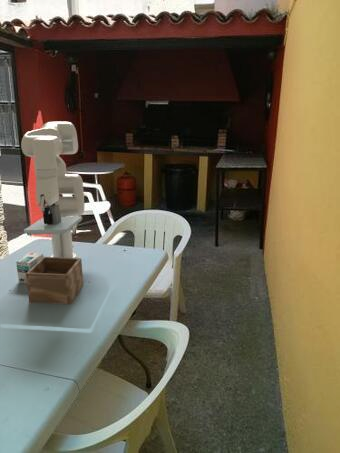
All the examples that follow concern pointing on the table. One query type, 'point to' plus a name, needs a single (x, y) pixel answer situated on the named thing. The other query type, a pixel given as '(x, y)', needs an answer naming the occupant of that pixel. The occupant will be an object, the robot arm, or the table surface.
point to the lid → (54, 223)
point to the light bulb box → (27, 265)
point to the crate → (55, 280)
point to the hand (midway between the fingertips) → (51, 221)
